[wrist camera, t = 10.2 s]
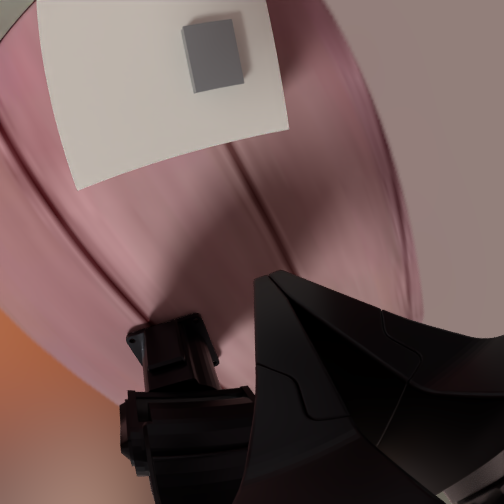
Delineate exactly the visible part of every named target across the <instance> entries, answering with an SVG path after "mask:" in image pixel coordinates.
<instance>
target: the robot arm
mask: <svg viewBox="0 0 504 504" xmlns="http://www.w3.org/2000/svg"><path fill="white" fill-rule="evenodd" d="M253 283H254V322H255V362H256V367H255V370H256V391H255V395H254V393H253V392H252V391H251V389H250V388H249V387H248V386H241V387H240V388H232V389H221V386H220V383H219V380H218V377H217V374H216V371H215V368H214V367H215V366H217V365H218V364H219V359H218V357H217V354H216V352H215V349H214V347H213V345H212V342H211V340H210V337H209V335H208V332H207V330H206V327H205V324H204V322H203V319H202V317H201V315H200V314H198V313H193V314H190V315H187V316H184V317H181V318H178V319H175V320H172V321H168V322H165V323H162V324H159V325H156V326H152V327H149V328H146V329H143V330H139V331H136V332H133V333H130V334H128V335H127V336H126V342H127V344H128V345H129V347H130V348H131V350H132V351H133V353H134V354H135V356H136V357H137V359H138V360H139V362H140V363H141V365H142V366H143V374H144V384H145V392H135V391H133V390H128V399H125V403H123V404H121V405H119V406H120V425H121V428H120V429H121V430H120V446H121V453H122V454H123V455H124V456H126V457H127V458H128V459H129V460H130V461H131V464H132V466H135V469H136V474H137V476H149V480H150V485H151V491H152V494H153V497H154V501H155V504H446V503H445V502H444V501H442V500H441V499H440V498H438V497H437V496H436V495H437V494H439V493H440V492H442V491H443V492H444V493H445V495H446V496H447V497H448V499H449V500H450V502H451V503H452V504H504V335H502V336H499V337H494V338H474V337H470V336H465V335H462V334H458V333H454V332H451V331H447V330H443V329H440V328H436V327H432V326H429V325H426V324H422V323H419V322H416V321H412V320H410V319H407V318H404V317H401V316H398V315H396V314H393V313H390V312H388V311H385V310H382V311H381V309H380V308H377V307H375V306H372V305H370V304H367V303H365V302H362V301H359V300H357V299H354V298H352V297H349V296H347V295H344V294H342V293H339V292H337V291H334V290H332V289H329V288H326V287H324V286H321V285H319V284H316V283H314V282H311V281H309V280H306V279H304V278H301V277H299V276H296V275H294V274H291V273H288V272H286V271H283V270H279V271H276V272H273V273H270V274H269V275H268V276H267V275H264V276H262V277H259V278H256V279H254V281H253ZM194 319H197V320H194ZM130 339H134V340H130ZM213 361H214V362H213Z"/></svg>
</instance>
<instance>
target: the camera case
mask: <svg viewBox="0 0 504 504" xmlns="http://www.w3.org/2000/svg"><path fill="white" fill-rule="evenodd" d="M36 1H37V15H38V26H39V35H40V43H41V50H42V57H43V63H44V69H45V75H46V80H47V85H48V90H49V95H50V99H51V103H52V108H53V112H54V116H55V120H56V124H57V128H58V131H59V135H60V138H61V142H62V145H63V149H64V152H65V155H66V159H67V162H68V165H69V168H70V171H71V174H72V177H73V180H74V183H75V186H76V188H77V191H78V190H81V189H83V188H86V187H88V186H91V185H93V184H96V183H99V182H101V181H104V180H107V179H109V178H112V177H115V176H117V175H120V174H123V173H126V172H129V171H132V170H135V169H138V168H141V167H144V166H147V165H150V164H153V163H156V162H159V161H162V160H166V159H169V158H172V157H176V156H179V155H182V154H186V153H189V152H193V151H197V150H200V149H204V148H208V147H212V146H216V145H220V144H224V143H228V142H232V141H236V140H240V139H245V138H249V137H254V136H258V135H263V134H268V133H273V132H278V131H283V130H288V129H289V125H288V118H287V112H286V105H285V99H284V93H283V87H282V81H281V75H280V70H279V64H278V58H277V53H276V48H275V43H274V37H273V32H272V27H271V22H270V18H269V13H268V8H267V4H266V0H36Z"/></svg>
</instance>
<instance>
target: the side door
mask: <svg viewBox="0 0 504 504" xmlns="http://www.w3.org/2000/svg"><path fill="white" fill-rule="evenodd" d="M33 1H34V0H0V40H1V39H2V38H3V36H4V35H5V34H6V32H7V31H8V30H9V29H10V27H11V26H12V25H13V24H14V23H15V21H16V20H17V19H18V18H19V17H20V16H21V14H22V13H23V12H24V11H25V10H26V9H27V8H28V7H29V6H30V5H31V3H32V2H33Z"/></svg>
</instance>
